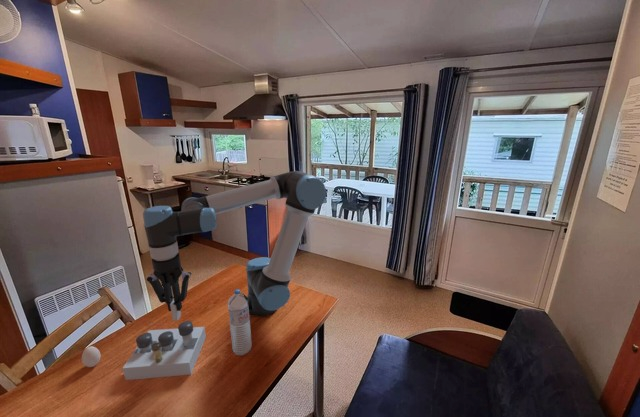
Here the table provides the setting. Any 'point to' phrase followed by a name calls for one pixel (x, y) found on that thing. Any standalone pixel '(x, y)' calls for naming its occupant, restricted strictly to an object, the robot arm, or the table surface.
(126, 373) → the console
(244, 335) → the water bottle
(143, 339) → the knob
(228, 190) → the robot arm
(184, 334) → the knob
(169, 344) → the knob mid
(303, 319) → the table surface
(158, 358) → the pot stem
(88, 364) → the egg
